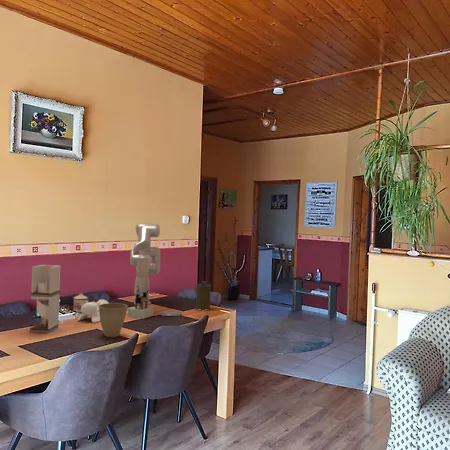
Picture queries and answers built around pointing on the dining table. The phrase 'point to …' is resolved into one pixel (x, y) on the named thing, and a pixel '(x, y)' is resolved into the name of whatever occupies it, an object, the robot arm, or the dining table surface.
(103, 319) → the plant pot
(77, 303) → the lidded ceramic jar
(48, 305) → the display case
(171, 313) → the trivet
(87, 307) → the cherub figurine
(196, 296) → the canister
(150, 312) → the block
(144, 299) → the stool
